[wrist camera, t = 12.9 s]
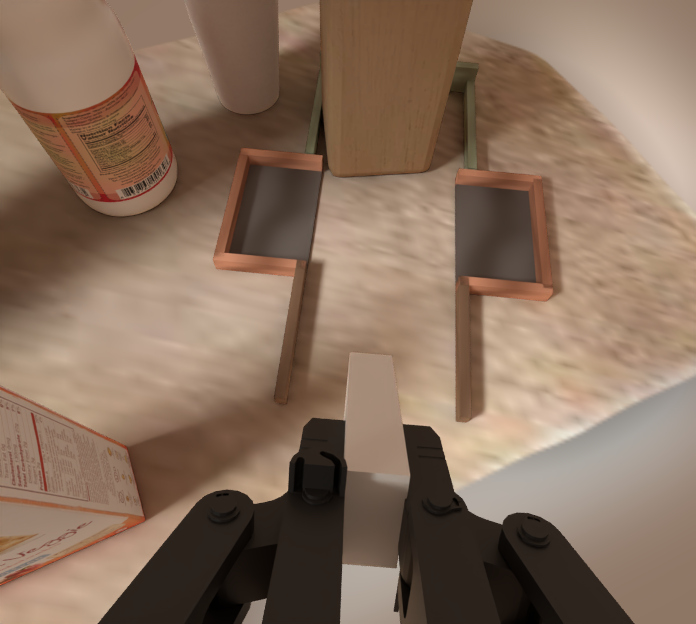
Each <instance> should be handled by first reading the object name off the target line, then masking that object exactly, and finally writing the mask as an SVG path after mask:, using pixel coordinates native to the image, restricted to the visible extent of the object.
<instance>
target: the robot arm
mask: <svg viewBox="0 0 696 624" xmlns="http://www.w3.org/2000/svg"><path fill="white" fill-rule="evenodd" d="M398 554H399V564H400V573H399V580H398V586H397V593H396V599H395V606H394V612H398V611H399V613H400V624H634V623H633V621H632V620H631V619H630V618H629V616H628V615H627V614H626V613H625V611H624V610H623V609H622V608H621V606H620V605H619V604H618V603H617V602H616V600H615V599H614V598H613V597H612V595H611V594H610V593H609V592H608V590H607V589H606V588H605V587H604V586H603V584H602V583H601V582H600V581H599V579H598V578H597V577H596V576H595V574H594V573H593V572H592V571H591V570H590V568H589V567H588V566H587V564H586V563H585V562H584V561H583V560H582V558H581V557H580V556H579V555H578V553H577V552H576V551H575V550H574V548H573V547H572V546H571V545H570V543H569V542H568V541H567V540H566V539H565V537H564V536H563V535H562V534H561V532H560V531H559V530H558V529H557V528H556V527H555V526H553V525H552V524H551V523H550V522H548V521H546V520H544V519H543V518H541V517H538V516H535V515H532V514H529V513H514V514H511V515H508V516H507V517H506V518H505V519H504V521H503V524H502V525H501V524H498V523H495V522H492V521H489V520H486V519H483V518H481V517H478V516H476V515H474V514H473V513H471V512H469V511H468V509H467V506H466V504H465V502H464V501H463V499H462V498H461V497H460V496H459V495H457V494H456V493H455V492H454V489H453V485H452V481H451V478H450V474H449V470H448V466H447V463H446V460H445V455H444V452H443V448H442V444H441V440H440V437H439V436H438V435H437V434H436V433H435V431H434V430H433V429H432V428H431V427H430V426H418V425H406V424H402V418H401V411H400V404H399V398H398V391H397V384H396V378H395V371H394V364H393V358H392V355H382V354H370V353H358V352H350V356H349V367H348V378H347V389H346V400H345V410H344V420H332V419H320V418H312V419H311V420H310V421H309V422H308V423H307V424H306V425H305V426H304V428H303V434H302V440H301V444H300V449H299V452H298V453H297V454H295V455H294V456H293V457H292V459H291V461H290V465H289V485H288V491H287V493H285V494H284V495H283V496H281V497H279V498H277V499H275V500H272V501H268V502H264V503H258V504H253V501H252V500H251V499H250V498H249V497H248V496H247V495H246V494H244V493H241V492H239V491H234V490H221V491H215V492H213V493H210V494H208V495H206V496H204V497H203V498H202V499H201V500H199V501H198V502H197V503H196V504H195V506H194V507H193V508H192V509H191V510H190V512H189V513H188V514H187V515H186V517H185V518H184V519H183V520H182V521H181V523H180V524H179V525H178V526H177V528H176V529H175V530H174V531H173V532H172V534H171V535H170V536H169V537H168V538H167V540H166V541H165V542H164V543H163V545H162V546H161V547H160V548H159V549H158V551H157V552H156V553H155V554H154V556H153V557H152V558H151V559H150V560H149V562H148V563H147V564H146V565H145V567H144V568H143V569H142V570H141V571H140V573H139V574H138V575H137V576H136V578H135V579H134V580H133V581H132V582H131V584H130V585H129V586H128V587H127V589H126V590H125V591H124V592H123V593H122V595H121V596H120V597H119V598H118V600H117V601H116V602H115V603H114V604H113V606H112V607H111V608H110V609H109V611H108V612H107V613H106V614H105V615H104V617H103V618H102V619H101V620H100V622H99V623H98V624H242V622H243V620H244V618H245V616H246V614H247V612H248V611H249V609H250V605H251V602H253V601H257V600H261V599H266V598H267V600H266V605H265V610H264V615H263V621H262V624H340V607H341V606H340V605H341V580H342V564H351V565H362V566H374V567H386V568H397V561H398Z"/></svg>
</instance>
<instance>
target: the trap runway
mask: <svg viewBox="0 0 696 624" xmlns="http://www.w3.org/2000/svg"><path fill="white" fill-rule="evenodd" d="M477 72H478V63H467V62H457V64H456V68H455V72H454V76H453V80H452V84H451V87H450V91H452V92H463V93H464V169H461V168H459V170H458V173H457V176H456V179H455V247H456V421H457V422H467V421H468V420H469V419H470V418H471V363H470V300H469V294H477V295H487V296H497V297H507V298H517V299H528V300H538V301H547V300H548V299H549V297H550V296H551V295H552V294H553V286H552V276H551V266H550V256H549V247H548V237H547V227H546V217H545V207H544V197H543V187H542V177H541V176H535V175H525V174H514V173H503V172H493V171H482V170H476V169H477V154H476V117H475V78H476V75H477ZM322 112H323V111H322V81H321V51H320V71H319V77H318V82H317V88H316V94H315V99H314V105H313V111H312V116H311V122H310V127H309V133H308V139H307V144H306V150H305V154H302V153H292V152H281V151H270V150H260V149H249V148H241V151H240V155H239V159H238V163H237V167H236V170H235V174H234V178H233V182H232V186H231V190H230V194H229V198H228V202H227V206H226V210H225V214H224V218H223V222H222V226H221V229H220V233H219V237H218V241H217V245H216V249H215V253H214V257H213V262H214V264H215V266H216V269H222V270H232V271H242V272H252V273H262V274H273V275H283V276H293V277H294V280H293V286H292V292H291V298H290V304H289V310H288V316H287V322H286V328H285V334H284V340H283V346H282V352H281V358H280V364H279V370H278V376H277V382H276V389H275V395H274V399H275V402H276V403H281V404H287V397H288V391H289V384H290V378H291V371H292V365H293V358H294V352H295V345H296V338H297V332H298V325H299V319H300V312H301V306H302V299H303V293H304V286H305V280H306V273H307V267H308V260H309V254H310V247H311V241H312V234H313V228H314V221H315V215H316V208H317V201H318V195H319V188H320V182H321V175H322V169H323V155H316V149H317V143H318V137H319V130H320V124H321V118H322Z"/></svg>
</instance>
